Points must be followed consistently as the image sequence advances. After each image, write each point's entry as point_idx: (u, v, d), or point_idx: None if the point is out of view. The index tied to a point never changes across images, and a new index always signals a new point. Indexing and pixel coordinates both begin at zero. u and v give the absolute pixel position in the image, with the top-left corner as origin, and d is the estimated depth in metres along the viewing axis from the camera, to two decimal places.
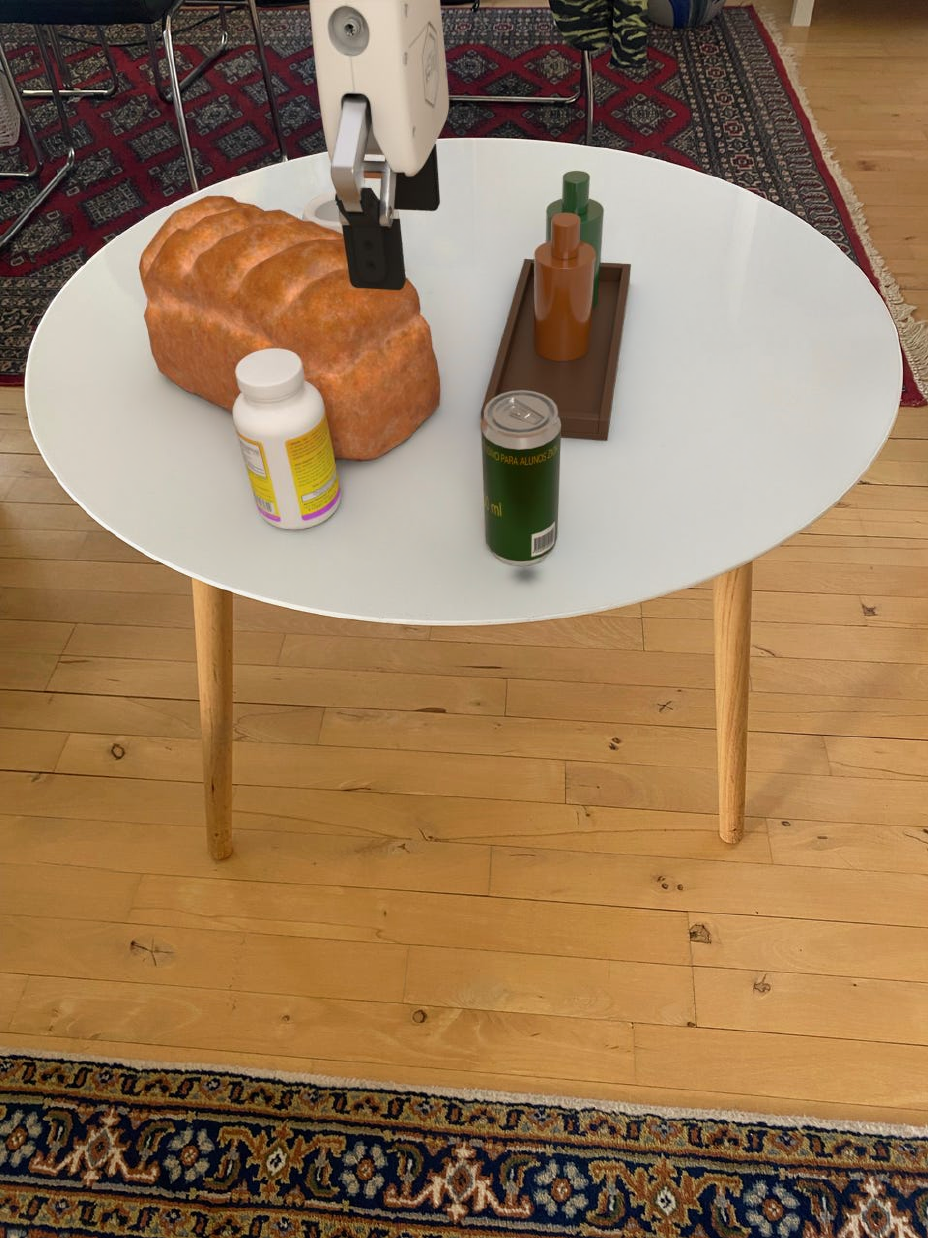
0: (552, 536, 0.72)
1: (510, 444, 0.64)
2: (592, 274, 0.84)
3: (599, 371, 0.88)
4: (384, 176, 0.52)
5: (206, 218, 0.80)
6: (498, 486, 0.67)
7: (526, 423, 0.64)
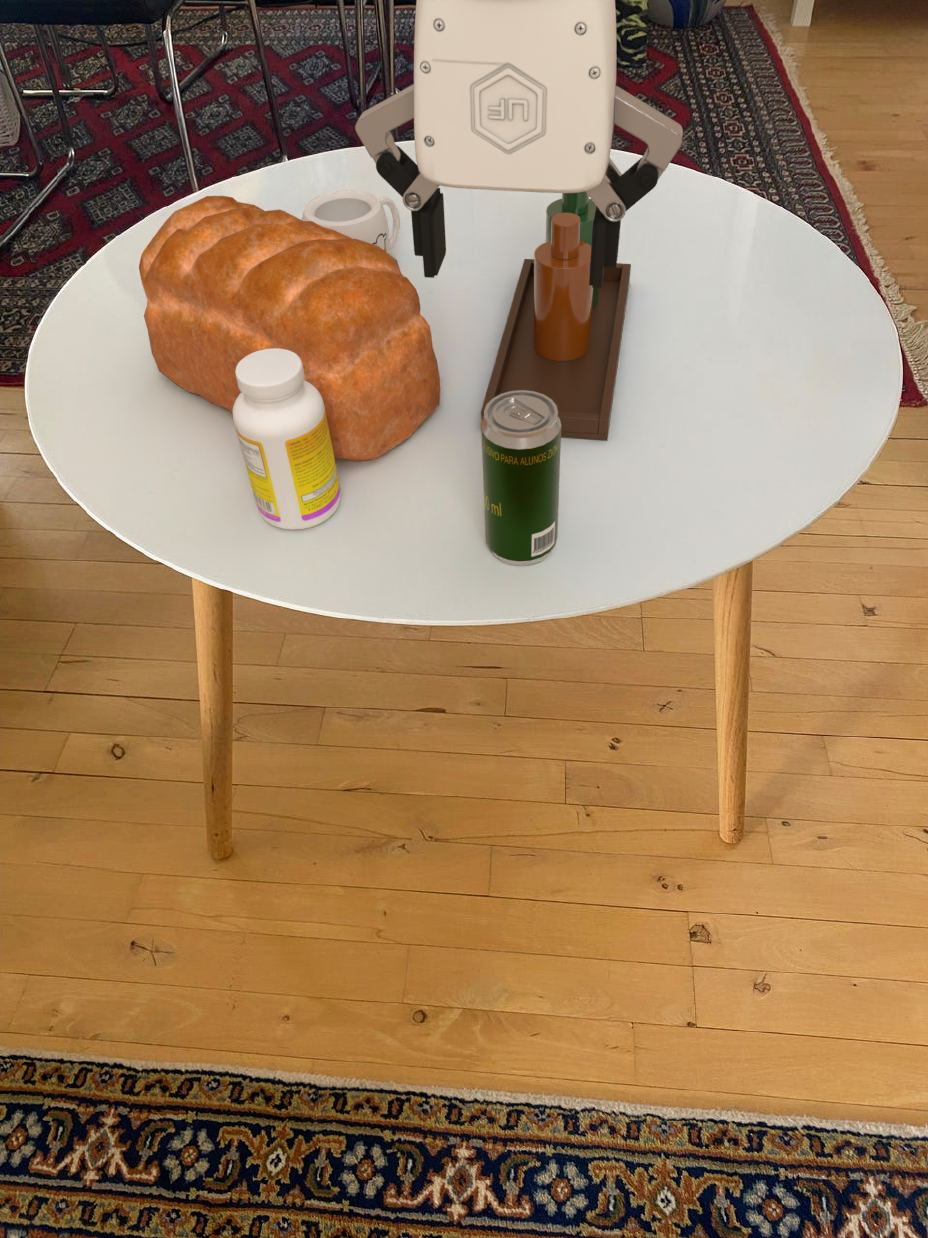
0: (552, 536, 0.72)
1: (510, 444, 0.64)
2: None
3: (599, 371, 0.88)
4: None
5: (206, 218, 0.80)
6: (498, 486, 0.67)
7: (526, 423, 0.64)
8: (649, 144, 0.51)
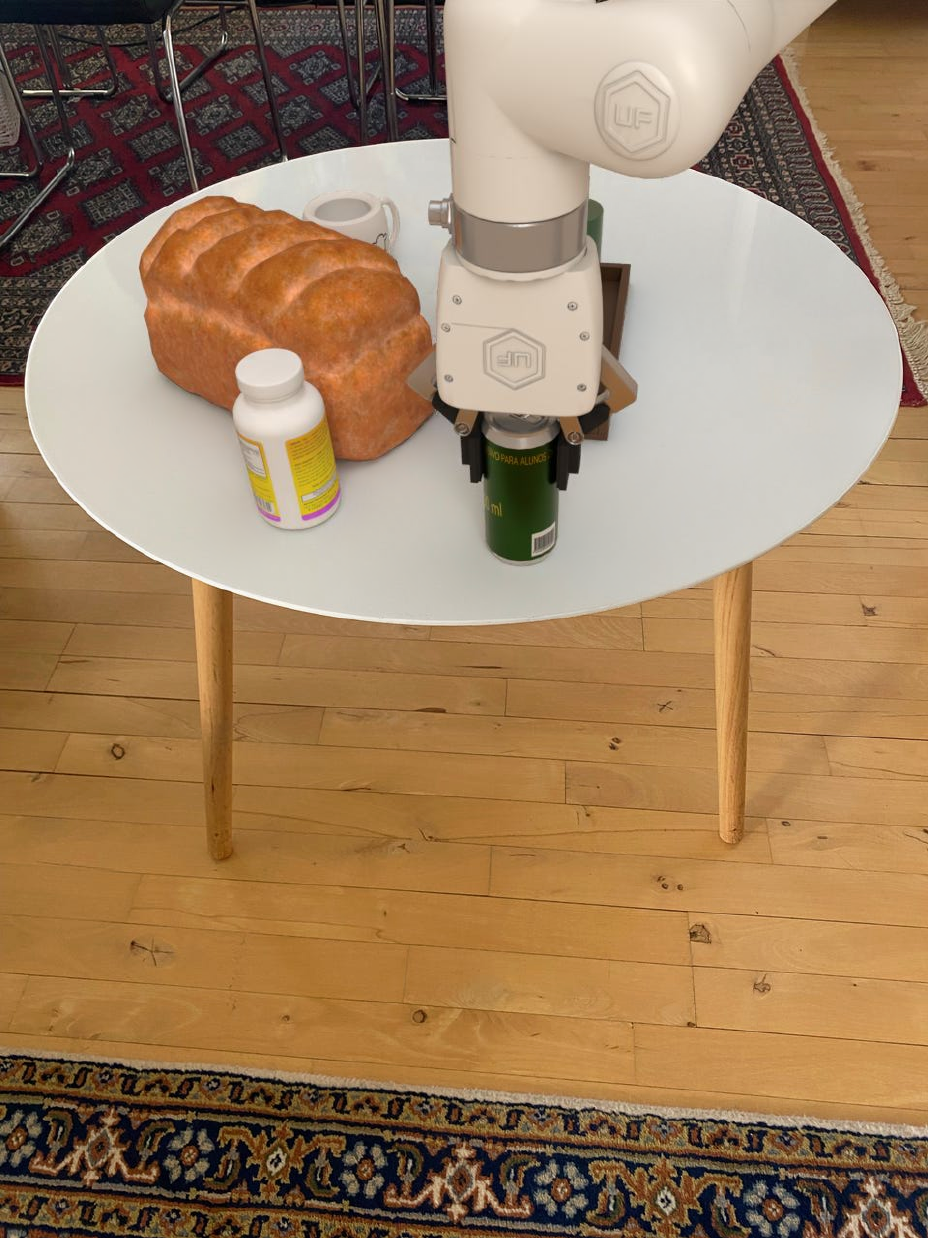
0: (552, 536, 0.72)
1: (511, 444, 0.64)
2: None
3: None
4: None
5: (206, 218, 0.80)
6: (499, 486, 0.67)
7: (526, 423, 0.64)
8: (611, 392, 0.62)
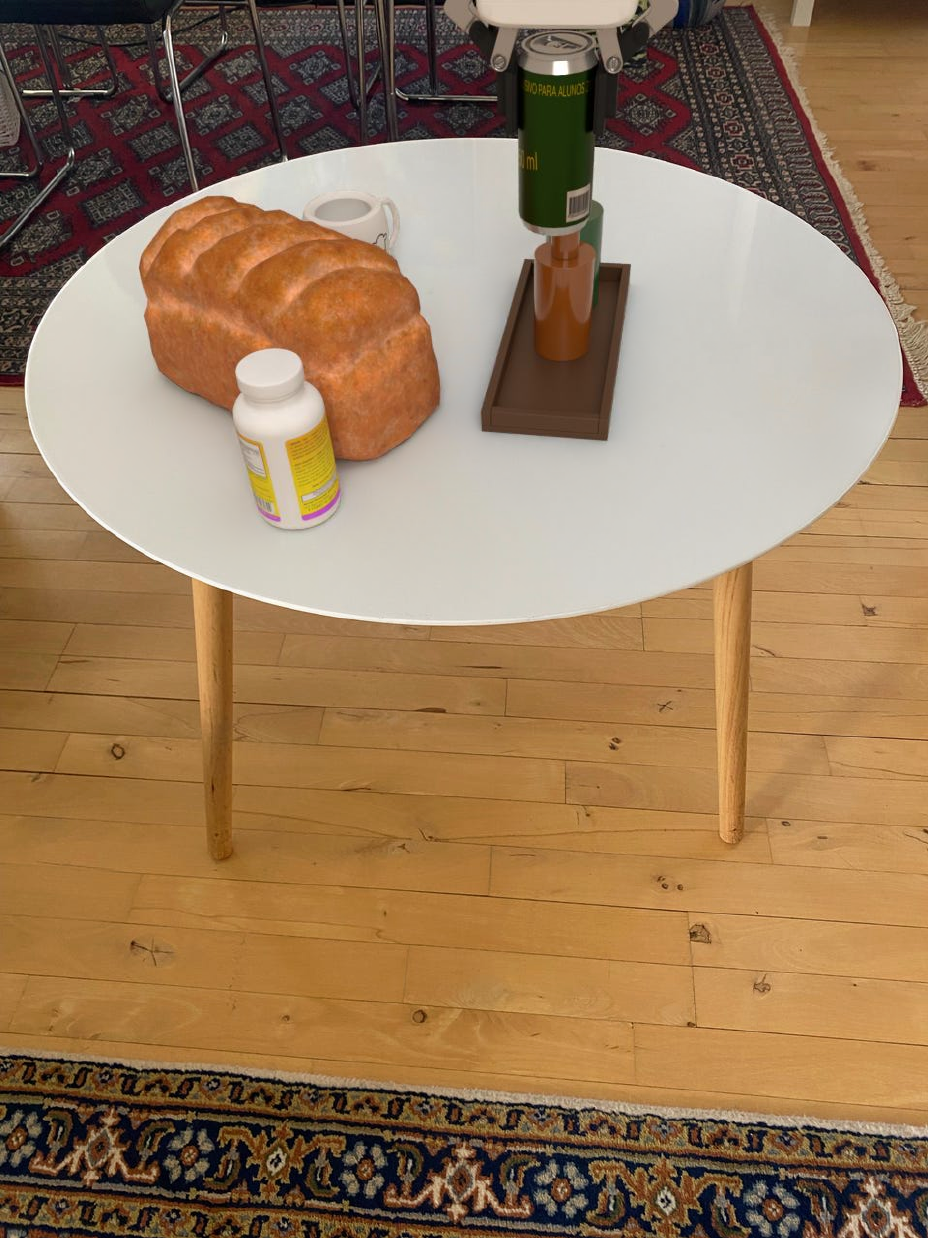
0: (587, 201, 0.71)
1: (549, 69, 0.64)
2: (592, 274, 0.84)
3: (599, 371, 0.88)
4: None
5: (206, 218, 0.80)
6: (535, 129, 0.67)
7: (564, 49, 0.64)
8: (652, 5, 0.62)
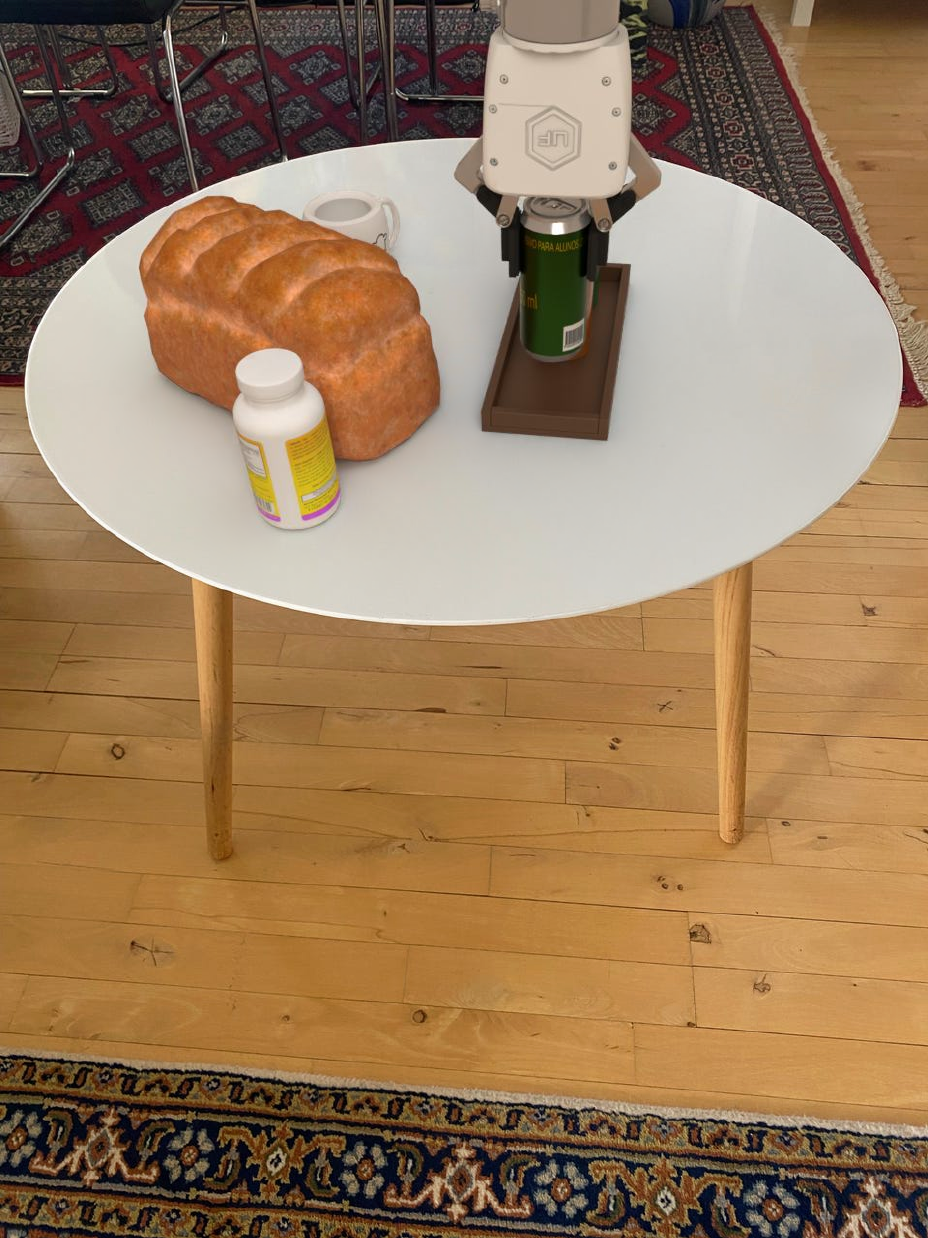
0: (581, 332, 0.79)
1: (547, 229, 0.72)
2: None
3: (599, 371, 0.88)
4: None
5: (206, 218, 0.80)
6: (535, 276, 0.75)
7: (561, 211, 0.72)
8: (637, 178, 0.70)
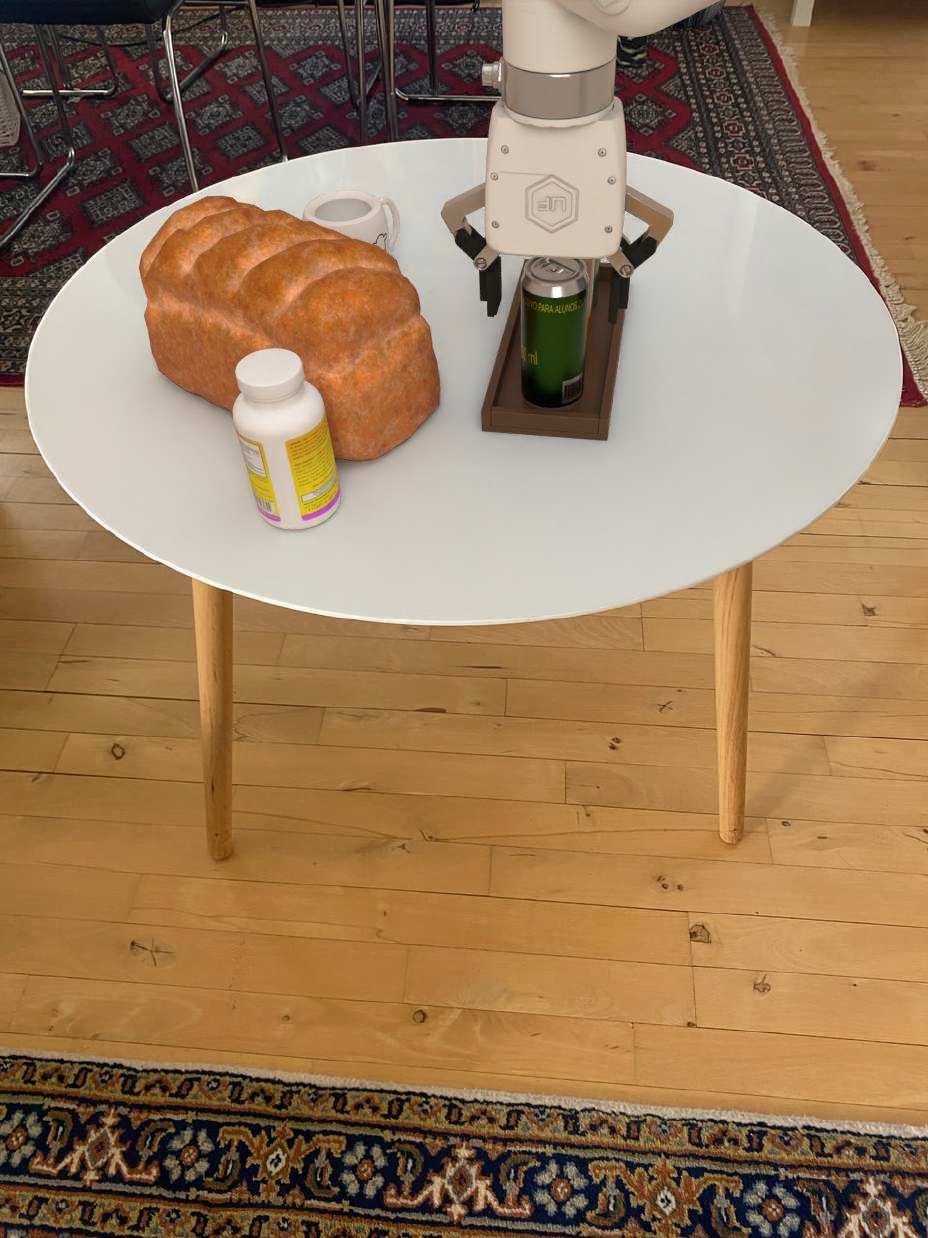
0: (580, 386, 0.83)
1: (547, 293, 0.76)
2: (592, 274, 0.84)
3: (599, 371, 0.88)
4: None
5: (206, 218, 0.80)
6: (535, 335, 0.79)
7: (560, 275, 0.76)
8: (650, 224, 0.72)
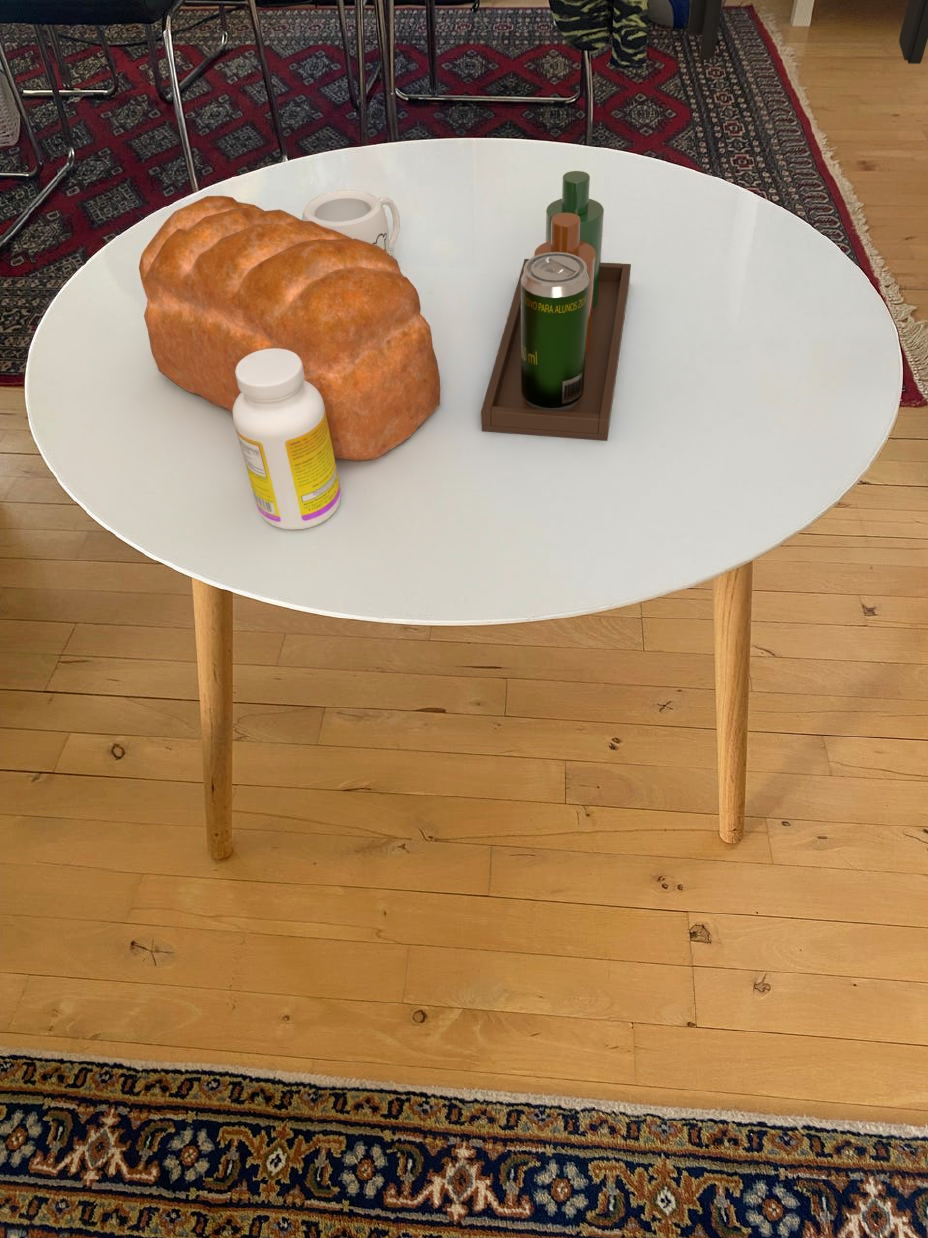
0: (580, 386, 0.83)
1: (547, 293, 0.76)
2: (592, 274, 0.84)
3: (599, 371, 0.88)
4: None
5: (206, 218, 0.80)
6: (535, 335, 0.79)
7: (560, 275, 0.76)
8: None
